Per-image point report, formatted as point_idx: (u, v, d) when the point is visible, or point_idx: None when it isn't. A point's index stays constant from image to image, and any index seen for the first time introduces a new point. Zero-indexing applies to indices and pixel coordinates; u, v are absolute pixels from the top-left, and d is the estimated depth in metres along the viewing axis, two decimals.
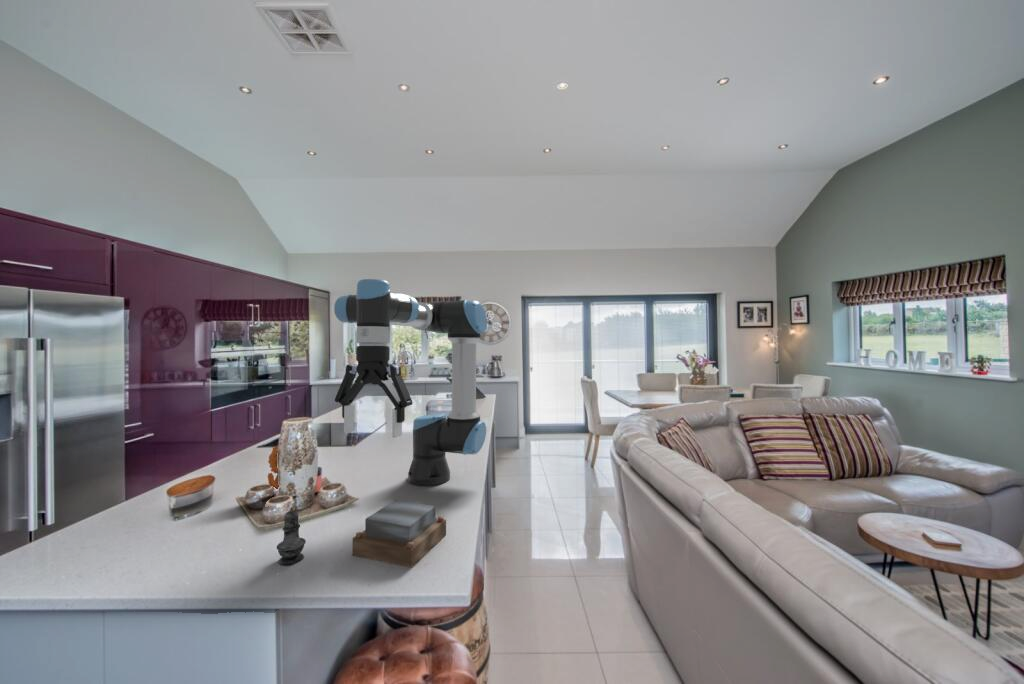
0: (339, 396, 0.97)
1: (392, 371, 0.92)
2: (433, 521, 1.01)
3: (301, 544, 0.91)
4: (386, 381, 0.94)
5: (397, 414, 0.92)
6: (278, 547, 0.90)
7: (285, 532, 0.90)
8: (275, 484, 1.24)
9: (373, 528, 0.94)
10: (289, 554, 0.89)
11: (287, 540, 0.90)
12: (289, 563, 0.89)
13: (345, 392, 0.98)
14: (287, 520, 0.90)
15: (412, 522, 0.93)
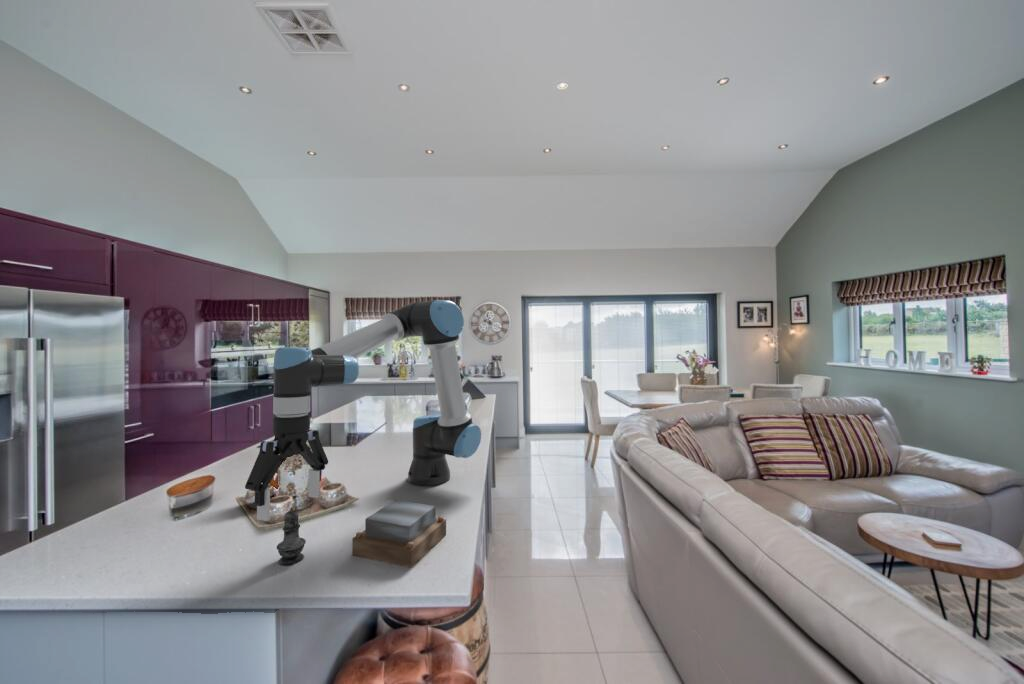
0: None
1: None
2: (433, 521, 1.01)
3: (301, 544, 0.91)
4: (276, 456, 0.88)
5: None
6: (278, 547, 0.90)
7: (285, 532, 0.90)
8: (275, 484, 1.24)
9: (373, 528, 0.94)
10: (289, 554, 0.89)
11: (287, 540, 0.90)
12: (289, 563, 0.89)
13: (318, 456, 0.99)
14: (287, 520, 0.90)
15: (412, 522, 0.93)
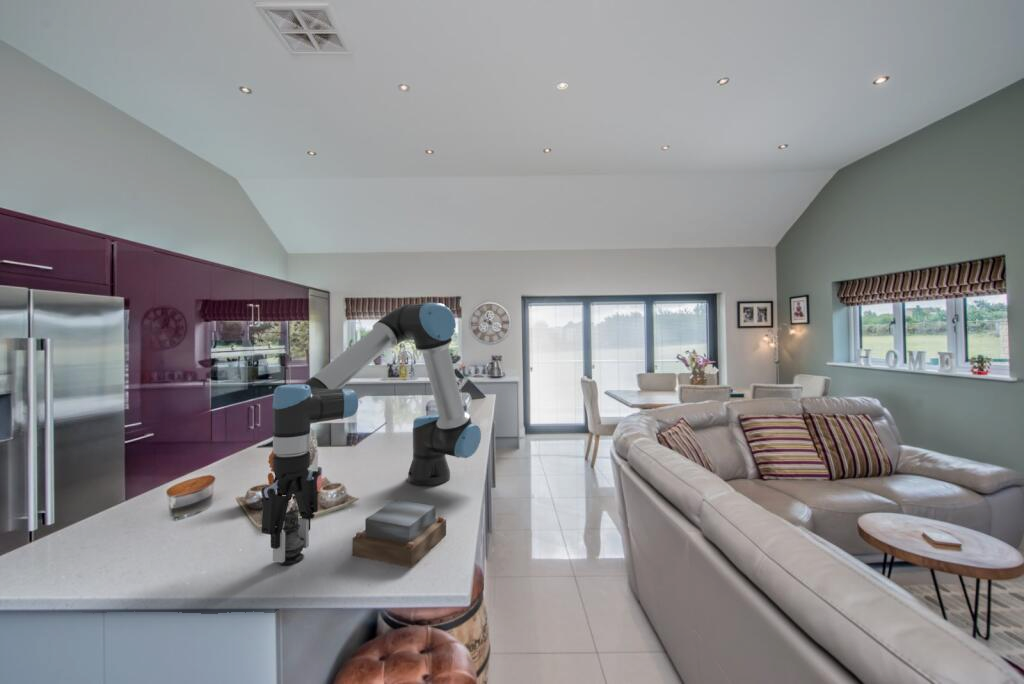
0: None
1: None
2: (433, 521, 1.01)
3: (301, 544, 0.91)
4: (280, 498, 0.89)
5: None
6: None
7: (285, 532, 0.90)
8: None
9: (373, 528, 0.94)
10: (289, 554, 0.89)
11: (287, 540, 0.90)
12: (289, 563, 0.89)
13: (309, 501, 0.97)
14: (287, 520, 0.90)
15: (412, 522, 0.93)
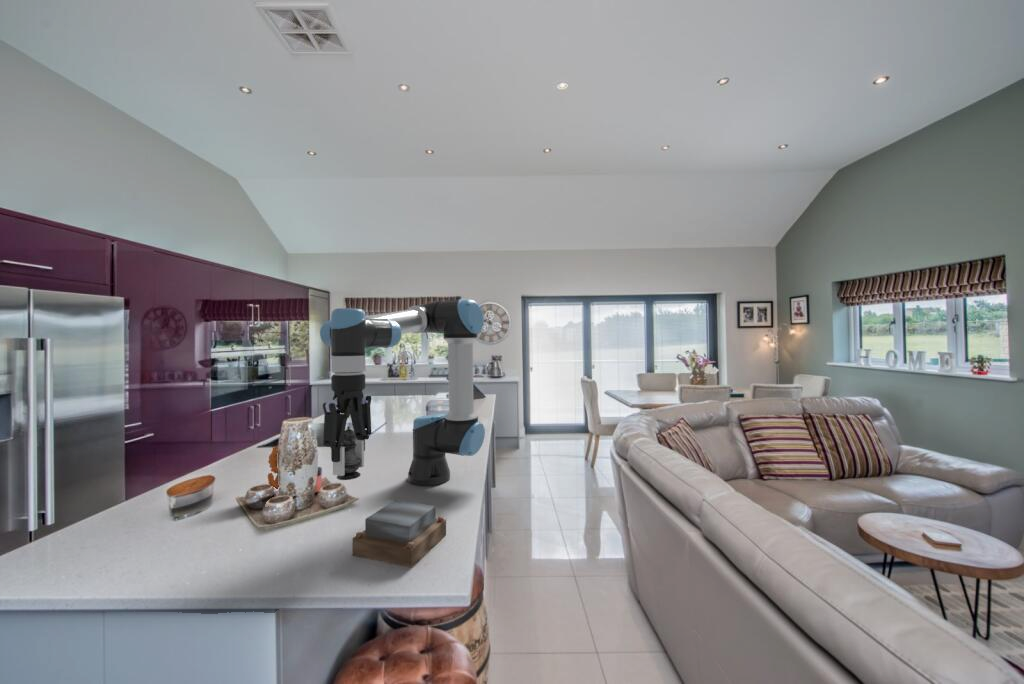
0: None
1: None
2: (433, 521, 1.01)
3: (358, 461, 0.95)
4: (339, 415, 0.93)
5: None
6: None
7: None
8: (275, 484, 1.24)
9: (373, 528, 0.94)
10: (348, 469, 0.93)
11: (346, 456, 0.94)
12: (348, 478, 0.93)
13: (363, 424, 1.00)
14: (345, 437, 0.94)
15: (412, 522, 0.93)
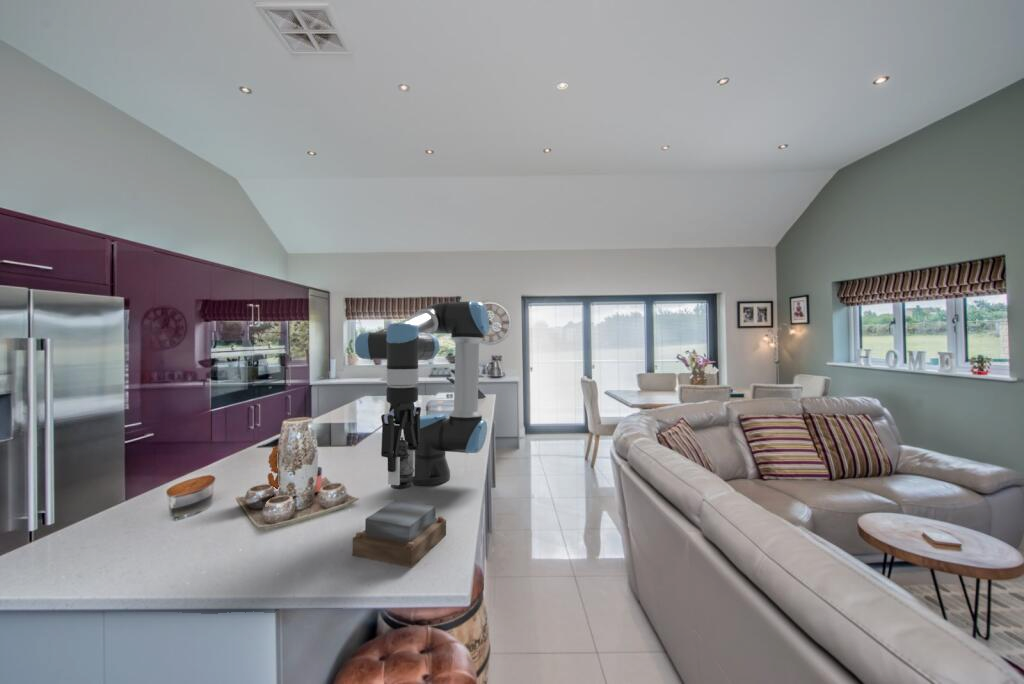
0: None
1: None
2: (433, 521, 1.01)
3: (411, 471, 0.98)
4: (395, 426, 0.96)
5: None
6: None
7: None
8: (275, 484, 1.24)
9: (373, 528, 0.94)
10: (402, 479, 0.96)
11: (400, 466, 0.97)
12: (402, 487, 0.96)
13: None
14: (399, 447, 0.97)
15: (412, 522, 0.93)
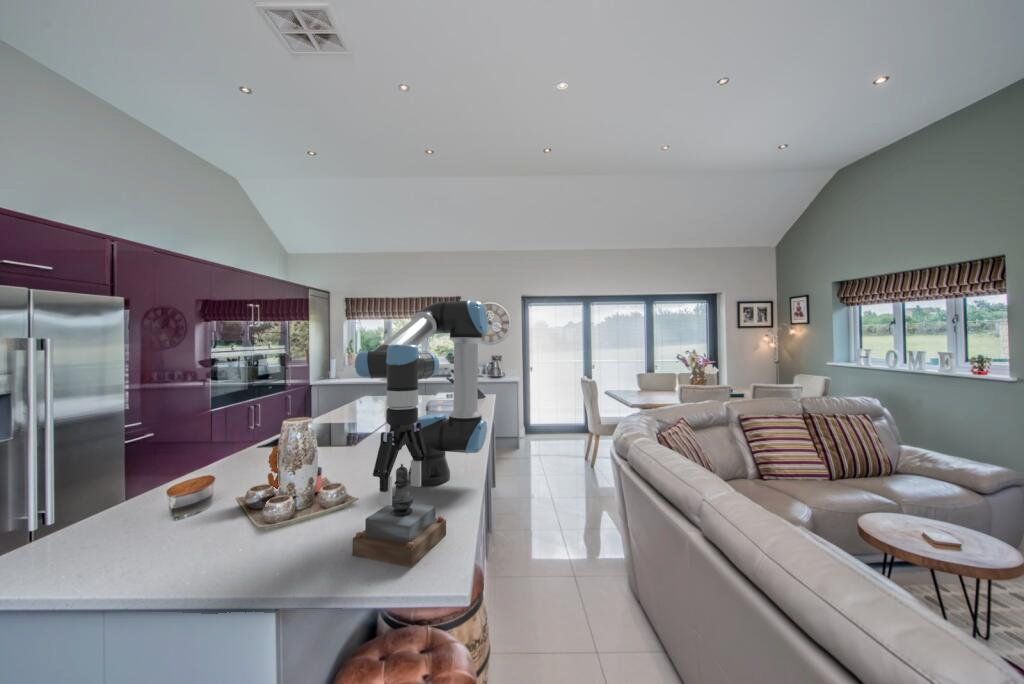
0: None
1: None
2: (433, 521, 1.01)
3: (411, 497, 0.98)
4: (392, 445, 0.95)
5: None
6: None
7: (397, 486, 0.97)
8: (275, 484, 1.24)
9: (373, 528, 0.94)
10: (402, 506, 0.96)
11: (400, 493, 0.97)
12: (403, 515, 0.96)
13: (418, 447, 1.06)
14: (399, 475, 0.97)
15: (412, 522, 0.93)
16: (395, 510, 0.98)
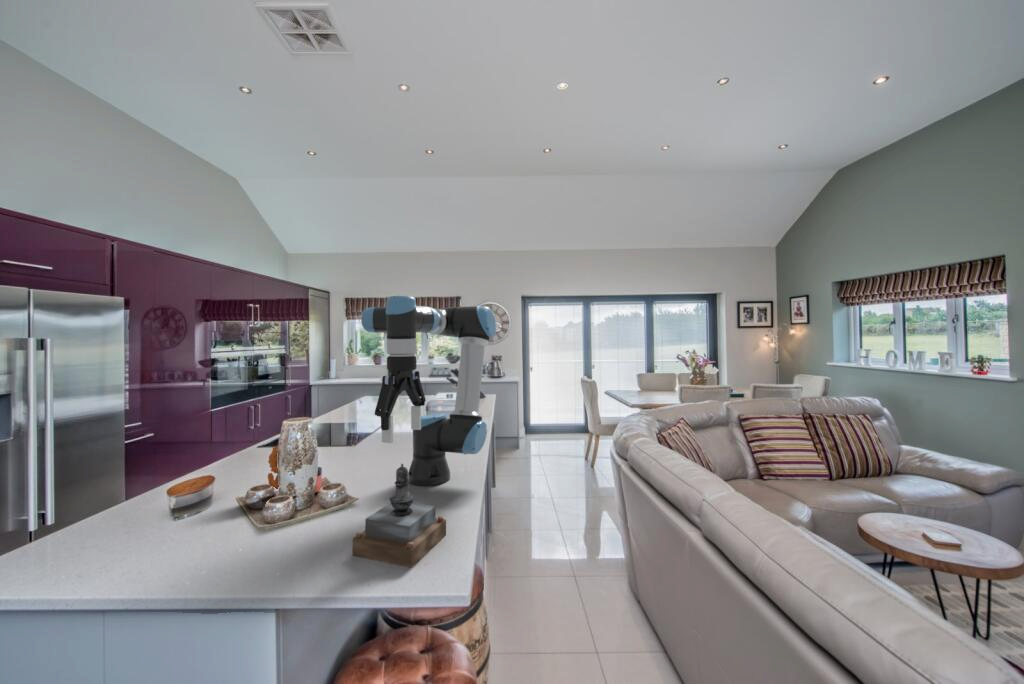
0: None
1: None
2: (433, 521, 1.01)
3: (411, 498, 0.98)
4: (393, 389, 1.01)
5: None
6: (392, 500, 0.97)
7: (398, 486, 0.97)
8: (275, 484, 1.24)
9: (373, 528, 0.94)
10: (402, 506, 0.96)
11: (400, 493, 0.97)
12: (403, 515, 0.96)
13: (418, 394, 1.13)
14: (400, 475, 0.97)
15: (412, 522, 0.93)
16: (395, 510, 0.98)
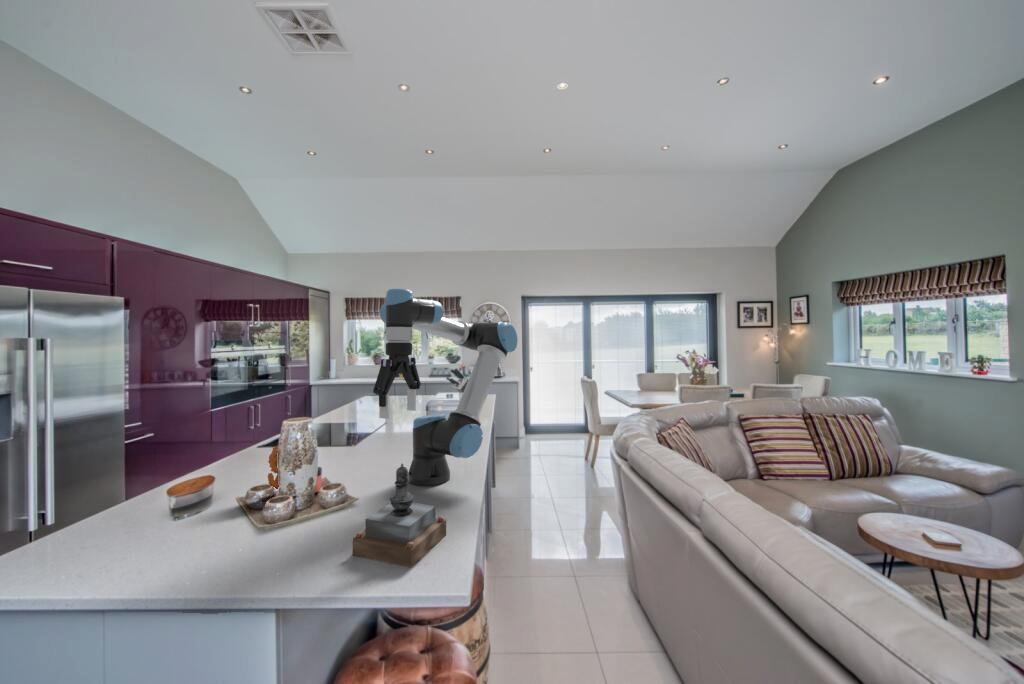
0: None
1: None
2: (433, 521, 1.01)
3: (411, 498, 0.98)
4: (390, 371, 1.14)
5: None
6: (392, 500, 0.97)
7: (398, 486, 0.97)
8: (275, 484, 1.24)
9: (373, 528, 0.94)
10: (402, 506, 0.96)
11: (400, 493, 0.97)
12: (403, 515, 0.96)
13: (413, 379, 1.25)
14: (400, 475, 0.97)
15: (412, 522, 0.93)
16: (395, 510, 0.98)
